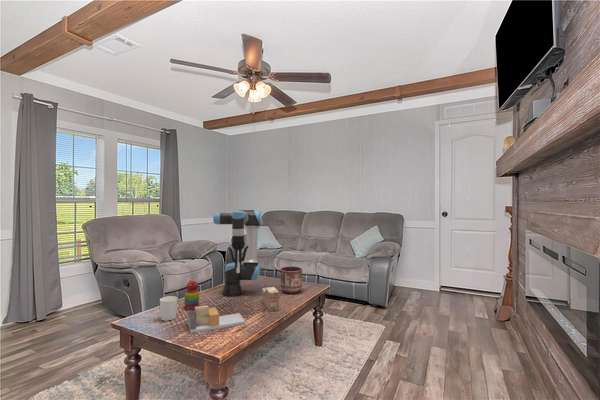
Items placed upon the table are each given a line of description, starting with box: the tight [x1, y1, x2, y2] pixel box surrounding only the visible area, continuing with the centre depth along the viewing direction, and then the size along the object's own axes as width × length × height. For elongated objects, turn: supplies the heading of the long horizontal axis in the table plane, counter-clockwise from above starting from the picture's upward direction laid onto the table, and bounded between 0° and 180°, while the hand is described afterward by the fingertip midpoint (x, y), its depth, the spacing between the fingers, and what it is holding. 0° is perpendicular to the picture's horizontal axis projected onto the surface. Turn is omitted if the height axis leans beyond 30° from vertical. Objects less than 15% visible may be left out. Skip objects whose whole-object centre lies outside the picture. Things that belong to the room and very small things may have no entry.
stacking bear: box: [183, 279, 202, 311], centre depth 201 cm, size 11×10×18 cm
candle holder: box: [159, 295, 178, 322], centre depth 182 cm, size 10×10×12 cm
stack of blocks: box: [261, 286, 280, 312], centre depth 205 cm, size 21×6×12 cm, turn 20°
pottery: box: [279, 266, 303, 295], centre depth 237 cm, size 18×18×18 cm
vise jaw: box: [209, 307, 220, 326], centre depth 174 cm, size 12×5×6 cm, turn 25°
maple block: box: [194, 305, 210, 326], centre depth 171 cm, size 5×7×9 cm
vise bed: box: [187, 310, 246, 334], centre depth 175 cm, size 14×30×8 cm, turn 115°
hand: (238, 272), depth 191 cm, fingers closed
